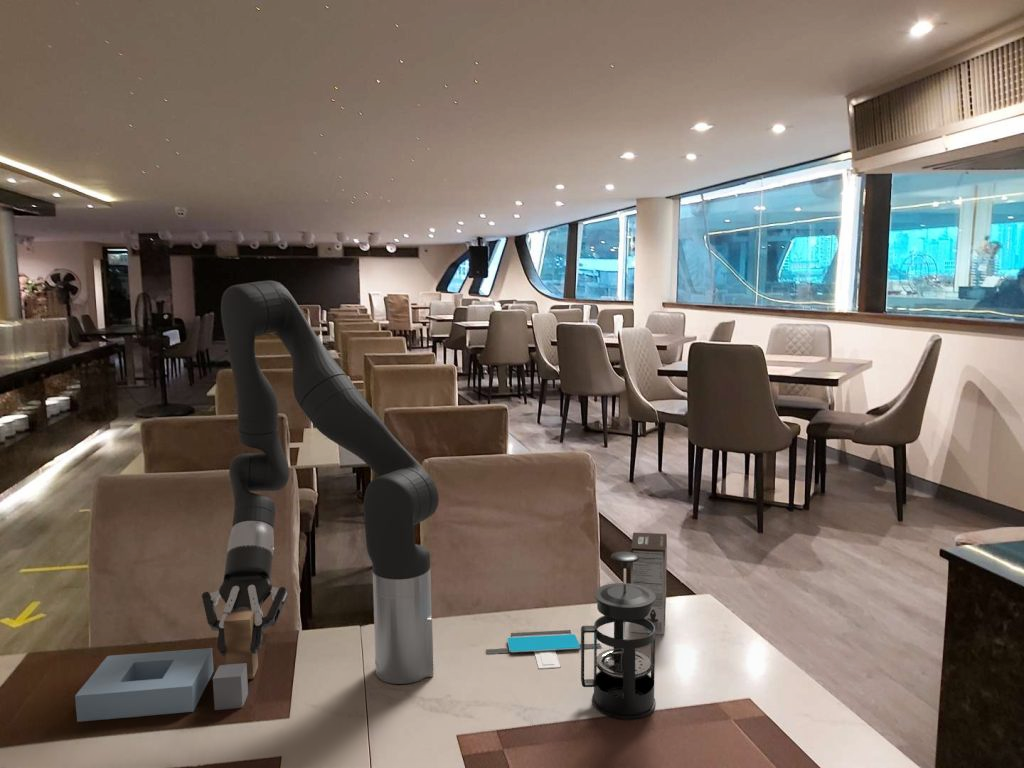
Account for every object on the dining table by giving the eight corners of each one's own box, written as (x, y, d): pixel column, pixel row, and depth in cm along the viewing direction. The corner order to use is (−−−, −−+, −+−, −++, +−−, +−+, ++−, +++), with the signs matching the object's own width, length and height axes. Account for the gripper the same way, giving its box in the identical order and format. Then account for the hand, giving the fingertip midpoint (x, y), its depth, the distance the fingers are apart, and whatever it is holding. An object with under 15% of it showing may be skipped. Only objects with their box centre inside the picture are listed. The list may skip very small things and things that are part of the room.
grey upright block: (248, 693, 114) (246, 663, 113) (242, 707, 110) (240, 676, 109) (221, 695, 113) (219, 665, 112) (214, 710, 109) (212, 678, 108)
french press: (653, 685, 115) (655, 543, 112) (666, 719, 105) (668, 565, 103) (578, 686, 115) (578, 544, 112) (584, 720, 105) (585, 566, 103)
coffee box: (631, 611, 142) (632, 531, 140) (665, 614, 140) (666, 533, 138) (629, 632, 133) (630, 547, 131) (665, 635, 131) (667, 549, 130)
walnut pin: (258, 666, 121) (254, 608, 120) (253, 678, 118) (249, 619, 116) (232, 668, 121) (229, 610, 120) (227, 681, 117) (223, 621, 116)
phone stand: (488, 675, 119) (488, 665, 119) (484, 641, 131) (484, 632, 131) (609, 668, 121) (609, 658, 121) (594, 635, 133) (594, 626, 133)
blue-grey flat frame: (213, 671, 120) (212, 647, 120) (193, 711, 109) (191, 686, 108) (109, 679, 118) (107, 655, 118) (77, 721, 106) (75, 695, 106)
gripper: (202, 546, 123) (185, 648, 113) (289, 541, 125) (281, 641, 115) (211, 565, 129) (197, 664, 119) (295, 560, 131) (288, 657, 121)
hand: (239, 652), depth 117 cm, fingers closed on walnut pin, 4 cm apart
